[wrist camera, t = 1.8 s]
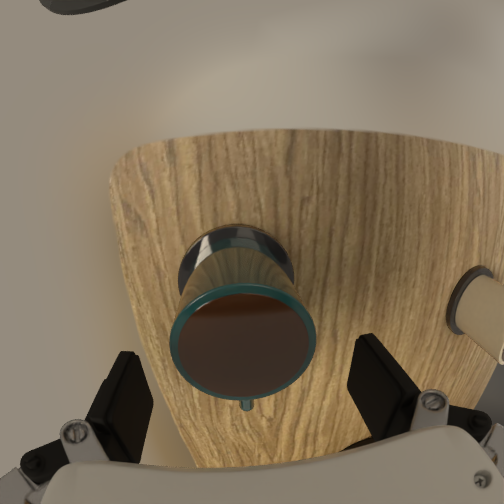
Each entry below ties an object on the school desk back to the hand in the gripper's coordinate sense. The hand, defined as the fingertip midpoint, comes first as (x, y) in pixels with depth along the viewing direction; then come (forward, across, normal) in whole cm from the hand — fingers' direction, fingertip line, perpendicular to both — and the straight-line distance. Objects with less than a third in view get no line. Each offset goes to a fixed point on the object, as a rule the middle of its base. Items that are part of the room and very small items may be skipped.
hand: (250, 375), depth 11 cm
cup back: (+9, -26, +4) cm, 28 cm away
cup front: (+9, 0, +1) cm, 9 cm away
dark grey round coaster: (+10, -25, +4) cm, 27 cm away
